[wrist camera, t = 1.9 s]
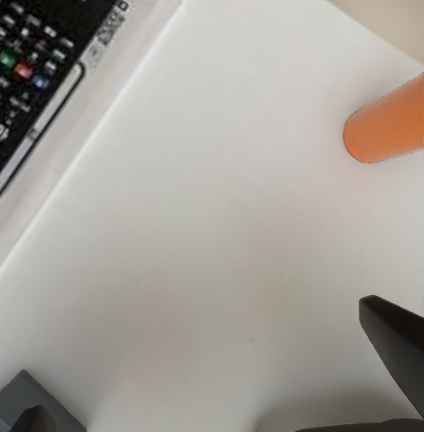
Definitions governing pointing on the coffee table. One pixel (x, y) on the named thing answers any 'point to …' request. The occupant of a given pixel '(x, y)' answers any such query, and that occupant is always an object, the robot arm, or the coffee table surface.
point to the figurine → (372, 427)
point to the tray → (31, 404)
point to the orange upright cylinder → (388, 124)
